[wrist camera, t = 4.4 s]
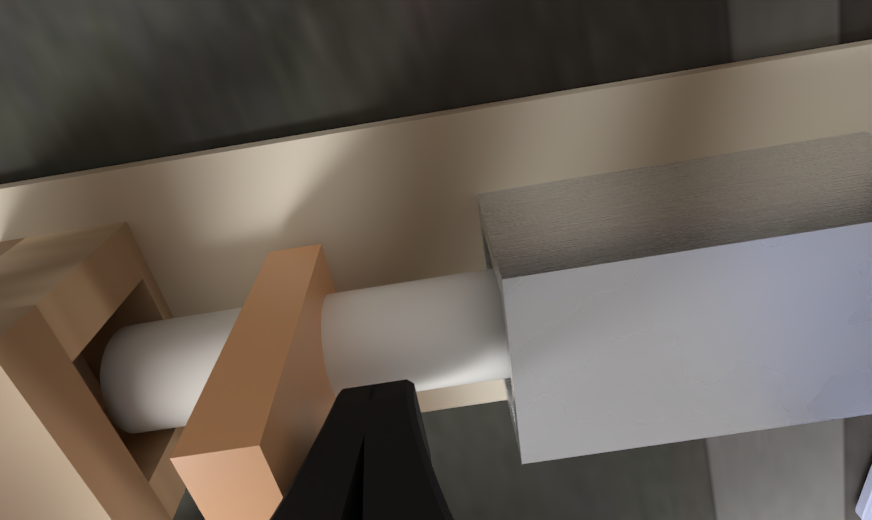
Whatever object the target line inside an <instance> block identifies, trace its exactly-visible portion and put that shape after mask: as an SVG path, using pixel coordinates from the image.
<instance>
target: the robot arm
mask: <svg viewBox="0 0 872 520" xmlns="http://www.w3.org/2000/svg"><path fill="white" fill-rule="evenodd" d="M855 512H856V513H857V514H858V515H859V517H860V518H861V519H862V520H872V465H871V468H870V470H869V473H868V476H867V478H866V481H865V484H864V487H863V489H862V492H861V495H860V497H859V500H858V503H857V506H856V510H855ZM270 520H454V519H453V517H452V515H451V513H450V510H449V508H448V506H447V503H446V501H445V499H444V496H443V494H442V491H441V489H440V486H439V484H438V481H437V478H436V476H435V473H434V470H433V467H432V464H431V456H430V451H429V446H428V442H427V437H426V433H425V429H424V424H423V420H422V416H421V411H420V407H419V402H418V398H417V394H416V389H415V385H414V383H412V382H411V381H409V380H407V379H405V380H399V381H392V382H385V383H379V384H372V385H365V386H359V387H352V388H345V389H342V390H341V391H340V393H339V394H338V395H337V397H336V399H335V401H334V404H333V406H332V408H331V410H330V412H329V414H328V416H327V418H326V420H325V422H324V424H323V426H322V428H321V430H320V432H319V434H318V436H317V437H316V439H315V441H314V443H313V445H312V447H311V449H310V451H309V452H308V454H307V456H306V458H305V460H304V462H303V463H302V465H301V467H300V469H299V470H298V472H297V474H296V476H295V477H294V479H293V481H292V483H291V485H290V486H289V488H288V490H287V492H286V493H285V495H284V497H283V499H282V500H281V502H280V504H279V505H278V507H277V509H276V510H275V512H274V513H273V515H272V517H271V518H270Z"/></svg>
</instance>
